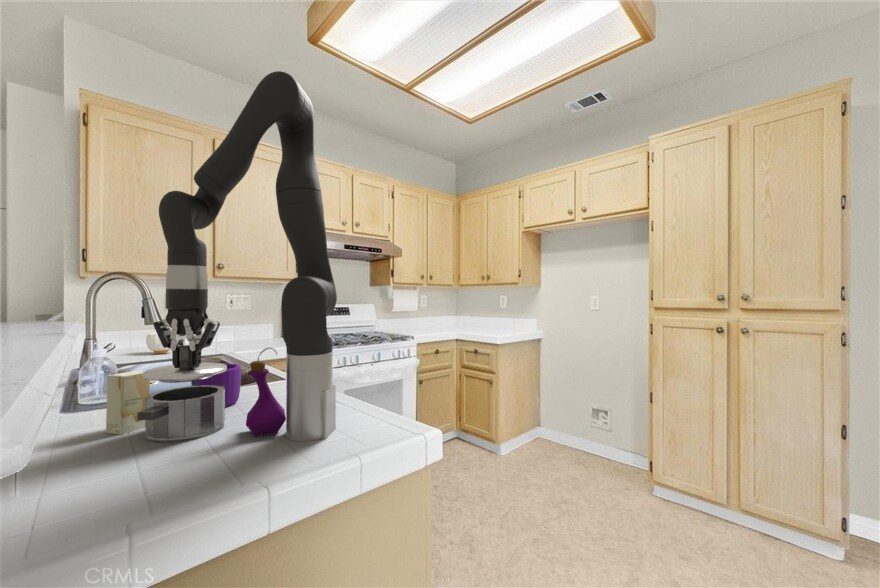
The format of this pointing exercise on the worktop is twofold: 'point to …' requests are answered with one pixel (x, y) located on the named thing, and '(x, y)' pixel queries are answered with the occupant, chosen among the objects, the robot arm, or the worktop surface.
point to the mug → (225, 382)
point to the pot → (184, 413)
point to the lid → (184, 370)
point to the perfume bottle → (264, 404)
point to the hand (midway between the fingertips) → (186, 367)
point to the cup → (155, 343)
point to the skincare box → (125, 401)
